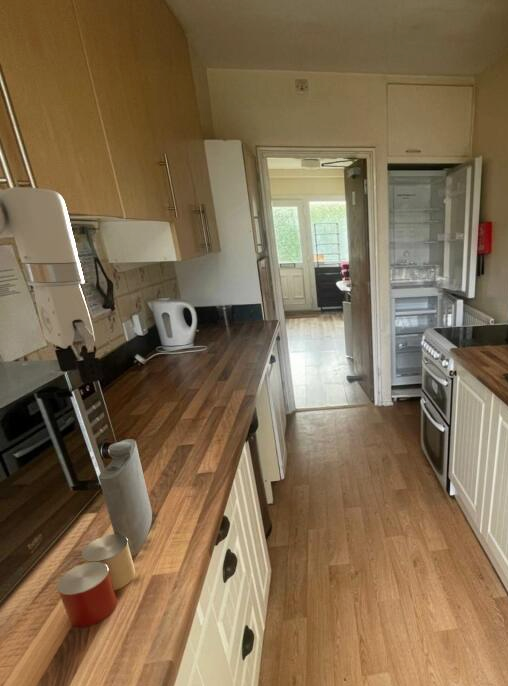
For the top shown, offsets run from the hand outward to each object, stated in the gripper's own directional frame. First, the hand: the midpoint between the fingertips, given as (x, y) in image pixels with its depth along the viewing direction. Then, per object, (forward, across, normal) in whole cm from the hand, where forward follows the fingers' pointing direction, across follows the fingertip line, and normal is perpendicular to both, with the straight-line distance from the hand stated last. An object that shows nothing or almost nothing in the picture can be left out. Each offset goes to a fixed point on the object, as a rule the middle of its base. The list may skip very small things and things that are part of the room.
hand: (81, 375), depth 76 cm
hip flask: (+34, +4, +2) cm, 34 cm away
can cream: (+33, +14, -7) cm, 37 cm away
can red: (+33, +18, -12) cm, 40 cm away
